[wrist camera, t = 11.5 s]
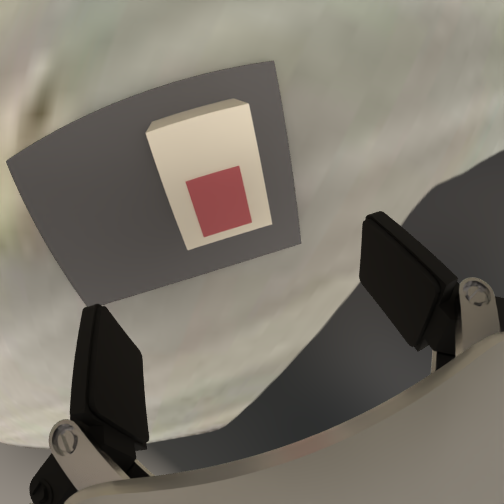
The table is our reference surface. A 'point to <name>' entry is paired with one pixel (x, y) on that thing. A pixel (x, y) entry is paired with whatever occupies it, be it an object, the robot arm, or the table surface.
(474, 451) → the robot arm
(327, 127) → the table surface
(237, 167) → the card box
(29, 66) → the table surface
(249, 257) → the mat
